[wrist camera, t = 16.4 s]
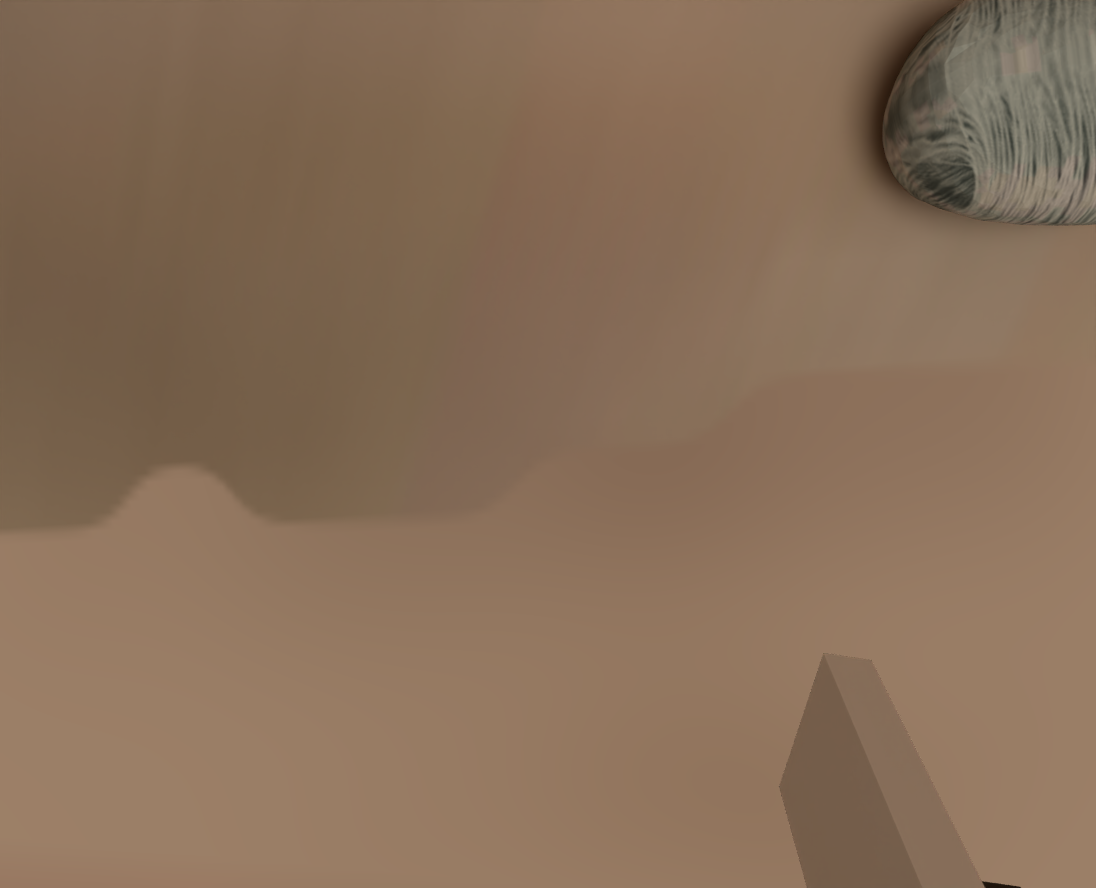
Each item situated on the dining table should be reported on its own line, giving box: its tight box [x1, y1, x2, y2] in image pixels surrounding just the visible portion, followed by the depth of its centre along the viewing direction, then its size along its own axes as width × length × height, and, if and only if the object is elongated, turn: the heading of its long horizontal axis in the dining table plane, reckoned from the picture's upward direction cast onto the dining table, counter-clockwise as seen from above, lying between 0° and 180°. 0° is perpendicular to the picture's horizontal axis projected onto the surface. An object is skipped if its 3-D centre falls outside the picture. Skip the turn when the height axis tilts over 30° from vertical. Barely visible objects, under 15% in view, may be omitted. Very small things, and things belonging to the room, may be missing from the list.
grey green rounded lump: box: [883, 0, 1096, 225], centre depth 33 cm, size 14×10×10 cm
